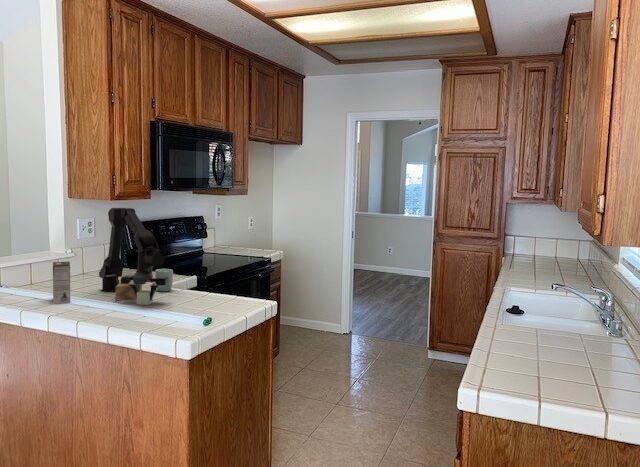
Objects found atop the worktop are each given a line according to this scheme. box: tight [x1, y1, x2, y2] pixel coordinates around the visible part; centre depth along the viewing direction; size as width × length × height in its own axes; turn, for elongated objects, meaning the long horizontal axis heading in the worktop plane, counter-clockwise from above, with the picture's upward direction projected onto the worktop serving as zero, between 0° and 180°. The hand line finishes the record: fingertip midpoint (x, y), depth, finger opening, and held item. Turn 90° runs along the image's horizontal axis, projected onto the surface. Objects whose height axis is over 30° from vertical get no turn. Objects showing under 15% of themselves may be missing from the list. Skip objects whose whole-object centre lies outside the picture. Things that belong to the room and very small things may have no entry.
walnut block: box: [114, 283, 143, 301], centre depth 216 cm, size 9×9×6 cm
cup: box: [154, 268, 174, 293], centre depth 231 cm, size 8×8×10 cm
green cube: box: [136, 289, 154, 306], centre depth 207 cm, size 5×5×5 cm
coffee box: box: [52, 260, 71, 305], centre depth 204 cm, size 9×6×16 cm
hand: (144, 300), depth 207 cm, fingers closed on green cube, 5 cm apart
